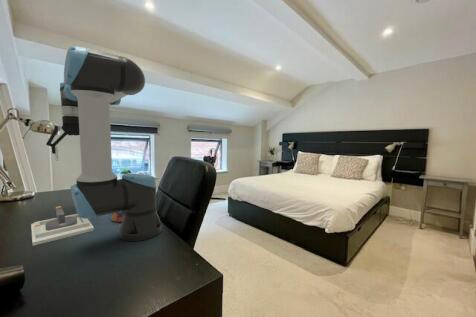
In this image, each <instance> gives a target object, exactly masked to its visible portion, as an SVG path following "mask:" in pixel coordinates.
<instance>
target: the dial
mask: <svg viewBox="0 0 476 317" xmlns="http://www.w3.org/2000/svg"><path fill="white" fill-rule="evenodd" d="M55 213H56V214H55V215H56V218H57V219H56V220H53V221H50V222H48V223H46V225H45V227H46V230H54V229H58V228H63V227H67V226H72V225H76V224H77V218H74V217H66V218H65V216H66V215H65V212H64V210H63V208H62V205H59V206H55Z"/></svg>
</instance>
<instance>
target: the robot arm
mask: <svg viewBox="0 0 476 317" xmlns="http://www.w3.org/2000/svg"><path fill="white" fill-rule="evenodd" d="M145 85H146V78H145V74H144V72H143V70H142V69H141V67H140V66H138V64H137V63H136V62H134V60H131V59H130V58H127V57H124V56H121V55H117V54H112V53H108V52H105V51H100V50H97V49H94V48H90V47H84V46H83V47H82V46H79V45H78V46H77V45H71V46H70V47H68V49H67V52H66V56H65V61H64V68H63V81H61V82H60V83H59V92H60V103H61V115H62V116H61V120H62V121H61V122H62V124H61V125H60V126H59V125H54V126H53V127H54V128H53V131H52V133H51V135H50V136H49V138H48V140H47V142H46V143H45V144H46V146H49V147H51V153H52V154H53V155H55V161H56V162H58V161H59V150H58V146H57V145H58V144H59V143H60V142H61V141H63V139H64V138H65V137H66V136H79V145H80V164H81V165H80V167H81V173H80V174H79V175H78V176H77V177H76V179H75V180H76V183H74V184H72V185H71V186H70V190H71V191H70V193H71V198H72V202H73V204H74V209H75V210H76V214H78V216H79V217H80V218H83V219H86V218H87V219H92V218H98V217H101V216H107V215H111V214H113V213H116V212H120V211H124V218H123V221H121V225H120V227H119V238H120V239H121V240H123V241H126V242H140V241H145V240H148V239H152V238H153V237H156V236H159V234H160V233H161V232H162V228H163V227H162V222H161V220H160V216H159V214H158V212H157V210H158V209H157V184H156V178H155V177H154V176H152V175H150V174H144V173H143V174H142V173H124V174H122V176H121V178H119V179H118V175H117V174H116V173H114V171H113V164H112V163H113V162H112V159H113V158H112V157H113V156H112V135H111V134H112V133H111V131H112V130H111V108H110V106H119V105H120V103H121V101H122V99H123V98H124V97H126V96H134V95H137V94H138V93H140V92H142V91H143V89H144V88H145ZM60 130H62V131H63V133H62V134H61V135H59V137H58V138H57V139H55V141H54V142H53V140H54V138H55V136H56V135H57V133H58V132H59V131H60Z"/></svg>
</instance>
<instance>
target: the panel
mask: <svg viewBox="0 0 476 317" xmlns="http://www.w3.org/2000/svg"><path fill="white" fill-rule="evenodd" d="M66 217H74V218H77V224H76V225H72V226H67V227H63V228H58V229H54V230H46V227H45V225H46V223H48V222H50V221H53V220H56V219H57V217H54V218H50V219H49V218H48V219H44V220H39V221H34V223H30V225H31V227H30V228H31V242H32V243H31V245H32V247H34V246H37V245H41V244H44V243H45V244H46V243H49V242H50V243H51V242H53V241H57V240H58V241H59V240H61V239H66V238H70V237H74V236H77V235H82V234H86V233H89V232H93V231H95V226H93V224H92V223H91V221H90V220H89V218H86V219H83V218H80V217H79V216H78V214H77V213H74V214H70V215H65V218H66Z"/></svg>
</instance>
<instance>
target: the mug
mask: <svg viewBox="0 0 476 317" xmlns="http://www.w3.org/2000/svg"><path fill="white" fill-rule="evenodd" d="M111 214H112V215H111V217H110V220H111V221H112V222H117V223H119V222H121V223H122V221H123V218H124V211H120V212H116V213H111Z"/></svg>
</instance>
